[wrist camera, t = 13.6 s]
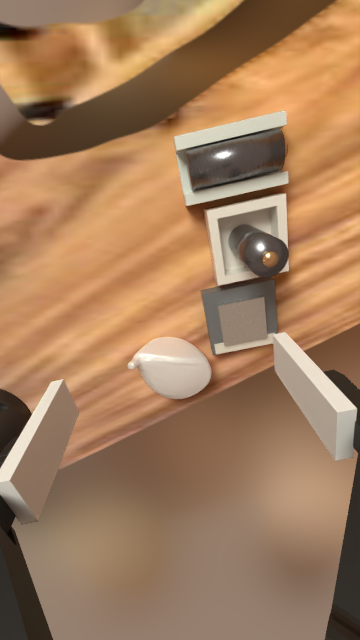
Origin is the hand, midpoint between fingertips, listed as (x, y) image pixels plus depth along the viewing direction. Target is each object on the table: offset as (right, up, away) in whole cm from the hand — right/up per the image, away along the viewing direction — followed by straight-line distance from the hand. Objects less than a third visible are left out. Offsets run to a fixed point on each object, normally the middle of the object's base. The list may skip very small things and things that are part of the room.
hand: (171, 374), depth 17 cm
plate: (+10, +4, +26) cm, 29 cm away
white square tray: (+10, +15, +23) cm, 29 cm away
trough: (+7, +24, +19) cm, 31 cm away
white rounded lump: (-1, -4, +32) cm, 32 cm away
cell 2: (+10, +15, +23) cm, 29 cm away
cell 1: (+7, +24, +18) cm, 31 cm away
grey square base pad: (+10, +4, +28) cm, 30 cm away
